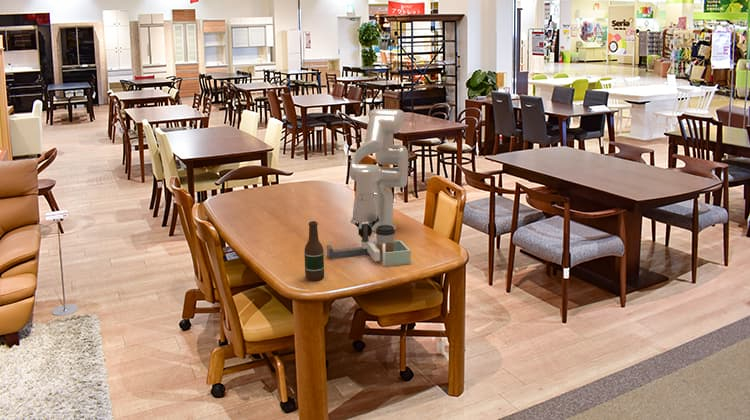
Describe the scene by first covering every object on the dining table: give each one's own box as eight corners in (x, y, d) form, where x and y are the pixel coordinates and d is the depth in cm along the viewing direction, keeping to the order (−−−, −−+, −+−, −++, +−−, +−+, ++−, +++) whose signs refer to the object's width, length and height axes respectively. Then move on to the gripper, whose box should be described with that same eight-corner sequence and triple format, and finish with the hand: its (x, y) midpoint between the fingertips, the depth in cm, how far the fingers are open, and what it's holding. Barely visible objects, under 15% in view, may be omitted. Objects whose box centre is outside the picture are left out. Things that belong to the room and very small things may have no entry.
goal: (373, 255, 313) (373, 234, 310) (400, 252, 316) (400, 231, 313) (383, 266, 299) (382, 244, 296) (410, 263, 302) (410, 241, 299)
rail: (327, 255, 312) (327, 245, 311) (386, 250, 319) (386, 239, 318) (329, 259, 308) (329, 248, 306) (389, 253, 314) (389, 243, 313)
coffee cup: (378, 264, 302) (378, 231, 297) (373, 257, 309) (373, 225, 305) (397, 262, 304) (397, 229, 300) (391, 256, 311) (391, 223, 307)
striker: (361, 248, 315) (360, 223, 312) (373, 247, 317) (373, 222, 313) (370, 261, 299) (370, 234, 296) (384, 260, 301) (384, 233, 297)
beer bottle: (324, 274, 291) (323, 219, 284) (323, 281, 283) (322, 224, 277) (305, 274, 291) (303, 219, 284) (304, 281, 283) (302, 225, 276)
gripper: (380, 192, 312) (380, 232, 317) (344, 195, 308) (345, 235, 313) (385, 197, 305) (385, 237, 310) (348, 199, 301) (349, 240, 306)
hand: (365, 235), depth 312 cm, fingers closed on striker, 3 cm apart
